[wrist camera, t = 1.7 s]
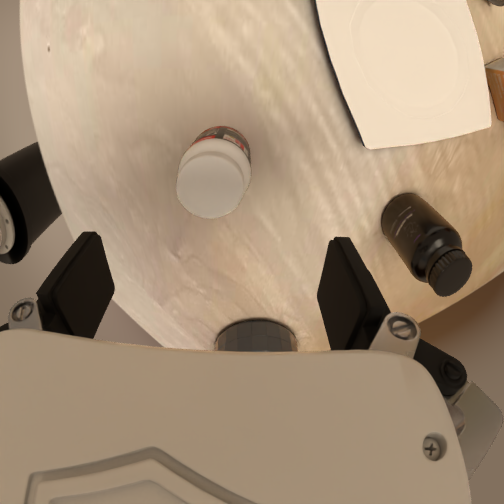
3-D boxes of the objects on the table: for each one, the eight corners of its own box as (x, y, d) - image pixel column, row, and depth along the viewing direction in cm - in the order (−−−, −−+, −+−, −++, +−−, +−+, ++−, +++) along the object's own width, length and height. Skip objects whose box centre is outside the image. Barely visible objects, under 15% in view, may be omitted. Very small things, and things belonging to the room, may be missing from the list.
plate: (483, 127, 24) (496, 133, 22) (349, 154, 27) (358, 161, 25) (448, -20, 13) (461, -24, 11) (290, -26, 16) (294, -35, 14)
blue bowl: (217, 365, 46) (215, 394, 41) (213, 316, 39) (210, 350, 34) (289, 365, 47) (293, 394, 42) (301, 317, 40) (308, 349, 35)
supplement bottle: (380, 194, 29) (436, 253, 20) (427, 189, 29) (488, 241, 19) (377, 244, 33) (420, 311, 23) (421, 237, 33) (469, 296, 23)
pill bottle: (213, 114, 25) (197, 130, 16) (261, 146, 27) (270, 178, 18) (182, 161, 27) (154, 199, 19) (228, 189, 29) (222, 239, 21)
